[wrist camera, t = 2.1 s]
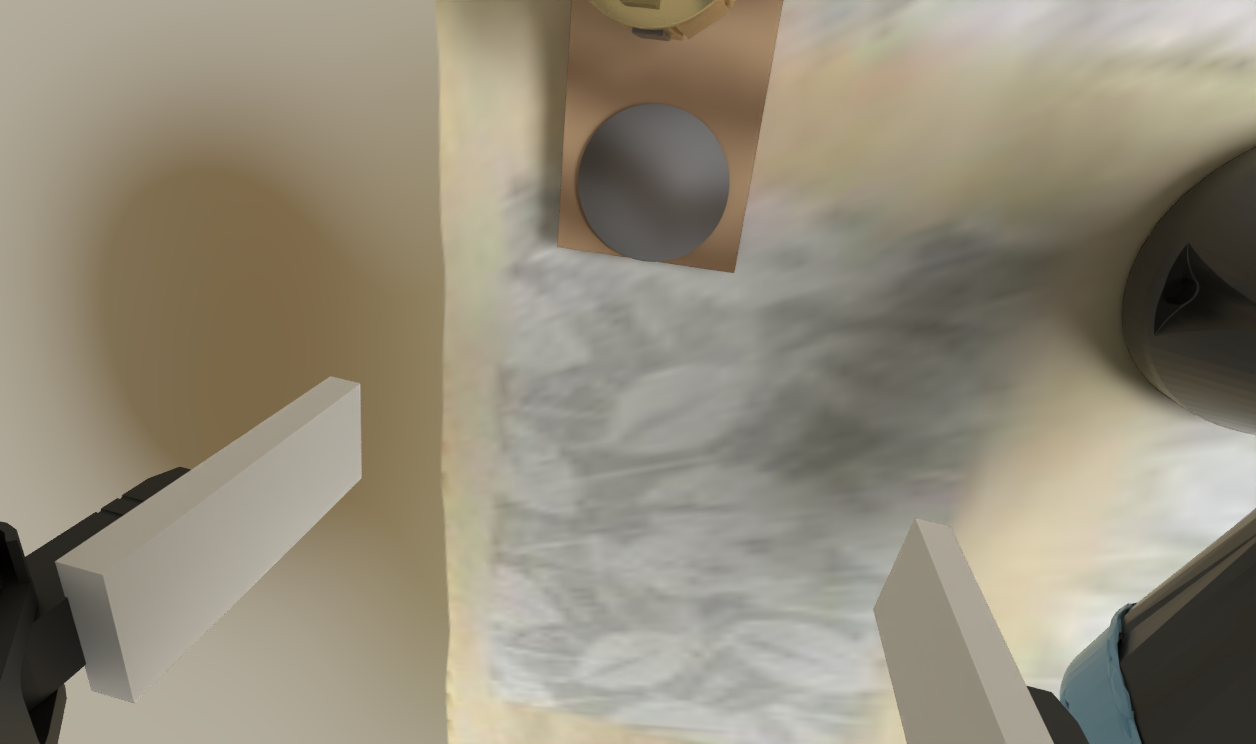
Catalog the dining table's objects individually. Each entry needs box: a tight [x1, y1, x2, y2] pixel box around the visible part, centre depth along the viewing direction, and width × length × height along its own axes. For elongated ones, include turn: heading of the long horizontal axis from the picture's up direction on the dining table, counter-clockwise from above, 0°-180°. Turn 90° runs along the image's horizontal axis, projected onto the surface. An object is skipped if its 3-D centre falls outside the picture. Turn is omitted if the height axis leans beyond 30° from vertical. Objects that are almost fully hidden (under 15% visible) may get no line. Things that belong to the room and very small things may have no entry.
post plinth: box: [557, 0, 783, 273], centre depth 29 cm, size 18×10×10 cm, turn 174°
